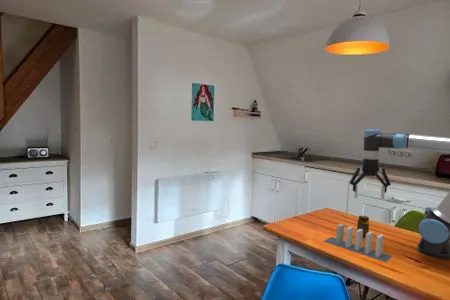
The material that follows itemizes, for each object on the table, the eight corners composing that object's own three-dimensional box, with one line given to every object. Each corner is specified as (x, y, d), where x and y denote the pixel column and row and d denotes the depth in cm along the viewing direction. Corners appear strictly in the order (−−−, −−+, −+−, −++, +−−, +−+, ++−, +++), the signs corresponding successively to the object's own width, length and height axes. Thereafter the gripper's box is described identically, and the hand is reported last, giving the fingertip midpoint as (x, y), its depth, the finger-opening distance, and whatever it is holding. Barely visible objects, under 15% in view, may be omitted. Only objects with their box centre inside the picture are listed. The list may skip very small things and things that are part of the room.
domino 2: (352, 245, 163) (353, 226, 162) (348, 247, 160) (349, 229, 159) (349, 244, 164) (350, 226, 163) (345, 246, 161) (346, 228, 160)
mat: (392, 256, 151) (392, 255, 151) (385, 262, 144) (385, 262, 144) (331, 237, 174) (331, 236, 174) (322, 242, 167) (322, 241, 167)
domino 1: (343, 242, 167) (344, 224, 166) (338, 244, 163) (340, 226, 162) (340, 241, 168) (341, 223, 167) (335, 243, 164) (337, 225, 163)
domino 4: (371, 251, 156) (373, 232, 155) (367, 254, 153) (369, 234, 152) (368, 250, 157) (369, 231, 156) (364, 253, 154) (366, 233, 153)
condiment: (371, 238, 175) (373, 217, 174) (362, 240, 171) (364, 220, 170) (359, 233, 182) (361, 214, 180) (350, 236, 177) (352, 216, 176)
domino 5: (382, 254, 153) (383, 235, 152) (378, 257, 149) (380, 237, 148) (378, 253, 154) (380, 234, 153) (374, 256, 150) (376, 236, 149)
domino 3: (361, 248, 160) (363, 229, 159) (357, 250, 156) (359, 231, 155) (358, 247, 161) (360, 228, 160) (354, 249, 157) (356, 230, 156)
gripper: (393, 158, 164) (391, 197, 166) (344, 157, 168) (343, 195, 169) (399, 159, 157) (396, 200, 159) (348, 158, 160) (346, 198, 162)
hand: (369, 198), depth 164 cm, fingers open, 13 cm apart
